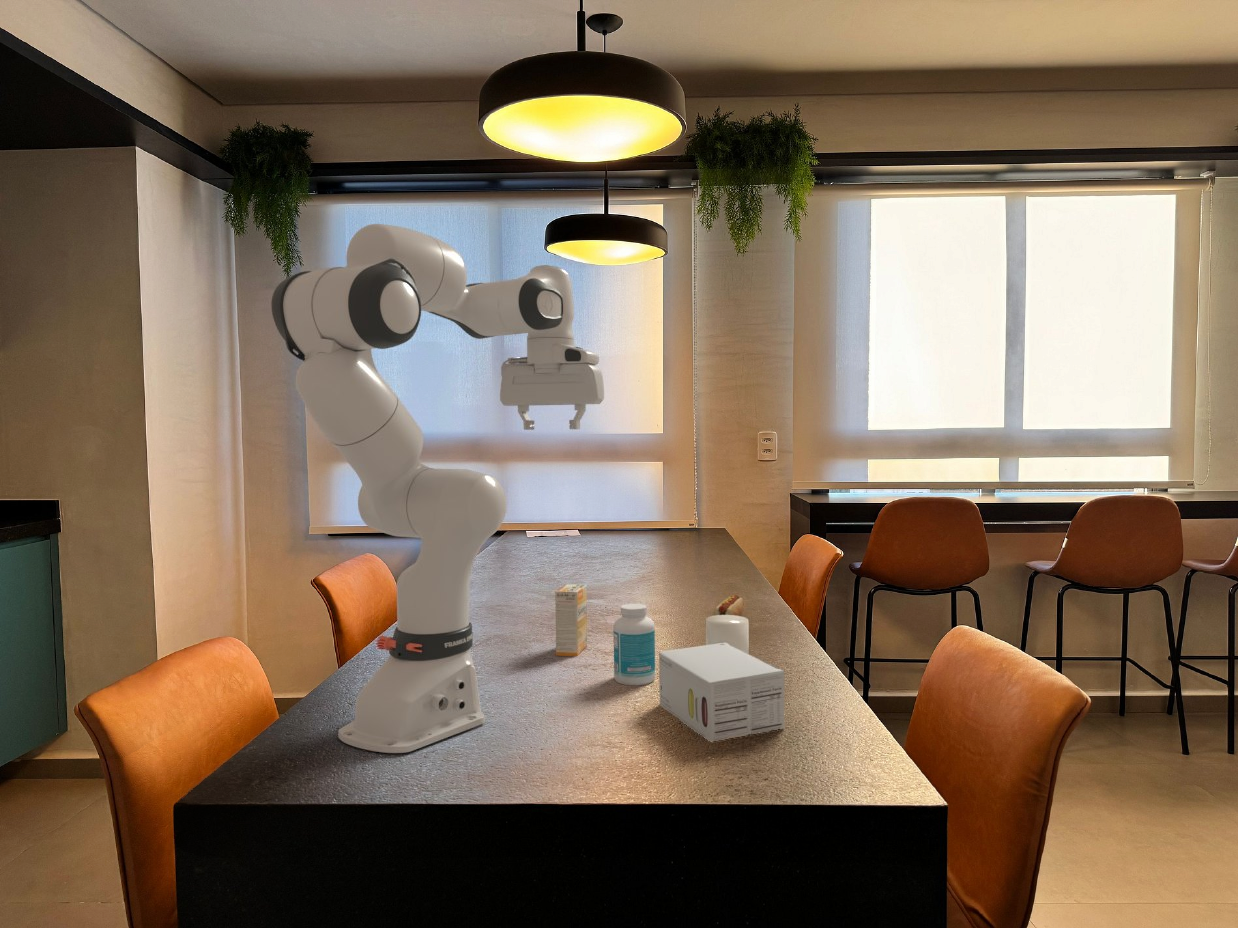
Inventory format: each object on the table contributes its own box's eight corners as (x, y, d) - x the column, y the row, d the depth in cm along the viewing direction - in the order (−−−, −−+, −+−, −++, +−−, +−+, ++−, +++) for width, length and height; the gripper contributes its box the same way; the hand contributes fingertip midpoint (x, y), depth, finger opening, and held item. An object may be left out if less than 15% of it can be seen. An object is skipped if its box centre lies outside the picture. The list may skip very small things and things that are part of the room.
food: (733, 627, 180) (733, 605, 179) (710, 625, 182) (710, 603, 181) (747, 613, 192) (747, 593, 192) (725, 611, 195) (725, 591, 194)
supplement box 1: (578, 657, 156) (577, 591, 156) (555, 656, 157) (554, 591, 157) (588, 646, 164) (587, 583, 164) (566, 645, 165) (565, 583, 165)
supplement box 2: (657, 707, 129) (657, 650, 128) (727, 695, 134) (726, 641, 133) (709, 745, 113) (709, 680, 113) (785, 730, 118) (785, 668, 118)
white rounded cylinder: (740, 675, 144) (740, 627, 143) (699, 669, 148) (699, 622, 147) (754, 664, 151) (754, 617, 150) (715, 658, 155) (715, 613, 154)
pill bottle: (663, 680, 142) (663, 605, 141) (636, 690, 136) (635, 612, 136) (632, 671, 147) (632, 599, 146) (605, 681, 142) (604, 606, 141)
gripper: (493, 356, 149) (494, 430, 149) (594, 352, 142) (595, 429, 142) (509, 359, 154) (510, 430, 155) (606, 355, 148) (607, 429, 148)
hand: (551, 429), depth 149 cm, fingers open, 8 cm apart
